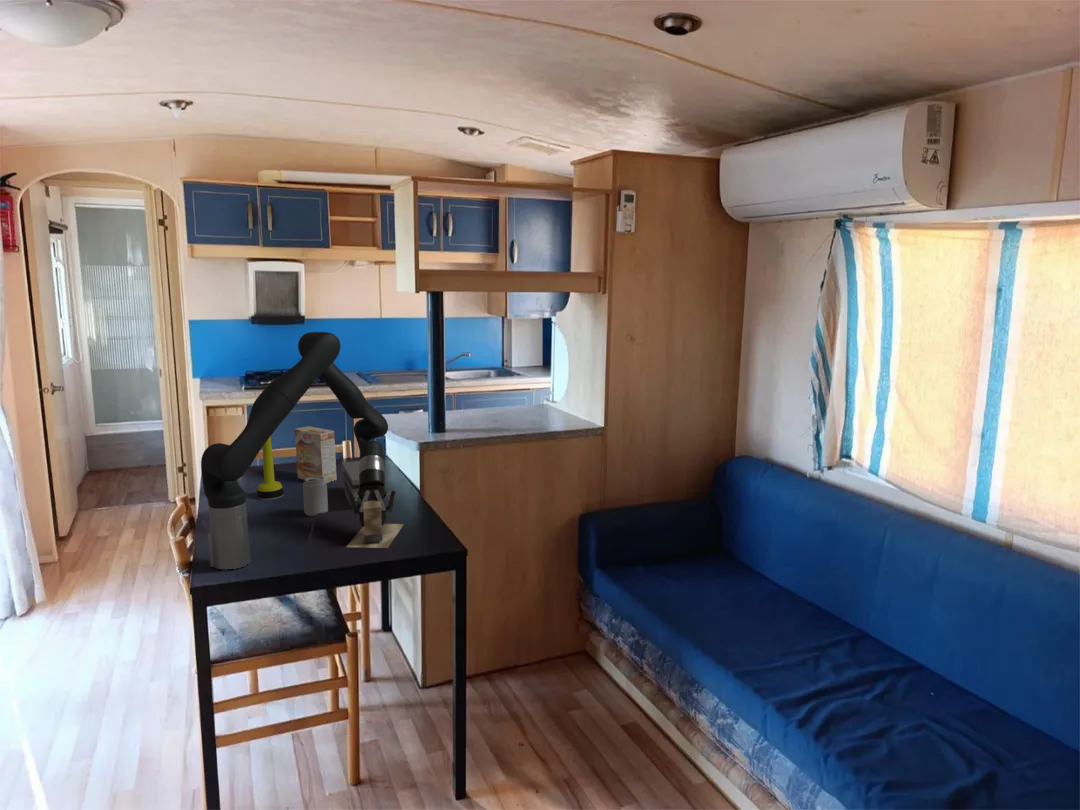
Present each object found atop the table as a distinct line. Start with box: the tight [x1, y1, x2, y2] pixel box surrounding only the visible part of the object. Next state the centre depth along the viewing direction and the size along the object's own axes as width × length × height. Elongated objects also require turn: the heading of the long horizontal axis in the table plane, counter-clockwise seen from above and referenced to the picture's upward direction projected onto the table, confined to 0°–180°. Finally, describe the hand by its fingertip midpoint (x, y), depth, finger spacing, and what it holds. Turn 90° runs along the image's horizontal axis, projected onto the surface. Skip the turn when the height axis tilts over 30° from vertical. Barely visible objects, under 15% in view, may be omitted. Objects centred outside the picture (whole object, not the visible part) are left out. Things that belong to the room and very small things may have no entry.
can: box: [302, 476, 329, 517], centre depth 240 cm, size 8×8×12 cm
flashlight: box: [256, 435, 285, 501], centre depth 258 cm, size 25×9×9 cm
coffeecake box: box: [294, 425, 338, 484], centre depth 279 cm, size 15×7×20 cm, turn 55°
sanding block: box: [363, 500, 382, 542], centre depth 214 cm, size 5×9×10 cm, turn 12°
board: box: [345, 523, 405, 549], centre depth 218 cm, size 12×20×1 cm, turn 177°
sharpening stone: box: [341, 460, 362, 506], centre depth 254 cm, size 25×8×11 cm, turn 23°
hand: (373, 524), depth 212 cm, fingers closed on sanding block, 4 cm apart
